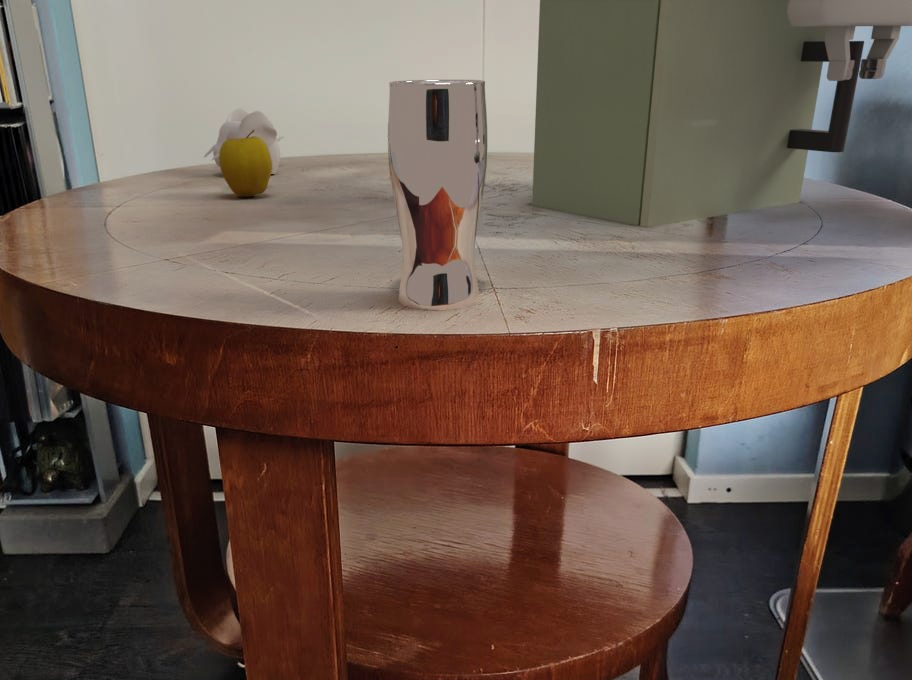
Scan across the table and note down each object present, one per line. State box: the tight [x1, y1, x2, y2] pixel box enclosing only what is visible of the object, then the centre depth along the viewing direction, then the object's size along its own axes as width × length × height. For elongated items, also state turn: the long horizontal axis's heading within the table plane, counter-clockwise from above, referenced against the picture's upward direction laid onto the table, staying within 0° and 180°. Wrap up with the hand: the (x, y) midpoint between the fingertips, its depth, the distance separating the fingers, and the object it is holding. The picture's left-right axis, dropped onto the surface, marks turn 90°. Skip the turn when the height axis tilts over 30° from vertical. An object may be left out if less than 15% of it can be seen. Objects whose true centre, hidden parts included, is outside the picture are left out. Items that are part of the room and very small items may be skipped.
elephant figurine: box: [203, 108, 285, 175], centre depth 133 cm, size 10×12×9 cm
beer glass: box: [387, 79, 489, 312], centre depth 64 cm, size 7×7×15 cm
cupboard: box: [531, 0, 661, 226], centre depth 95 cm, size 16×24×24 cm, turn 125°
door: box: [639, 0, 865, 228], centre depth 87 cm, size 7×24×24 cm, turn 125°
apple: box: [219, 130, 272, 198], centre depth 113 cm, size 6×6×8 cm
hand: (854, 79), depth 88 cm, fingers open, 4 cm apart
